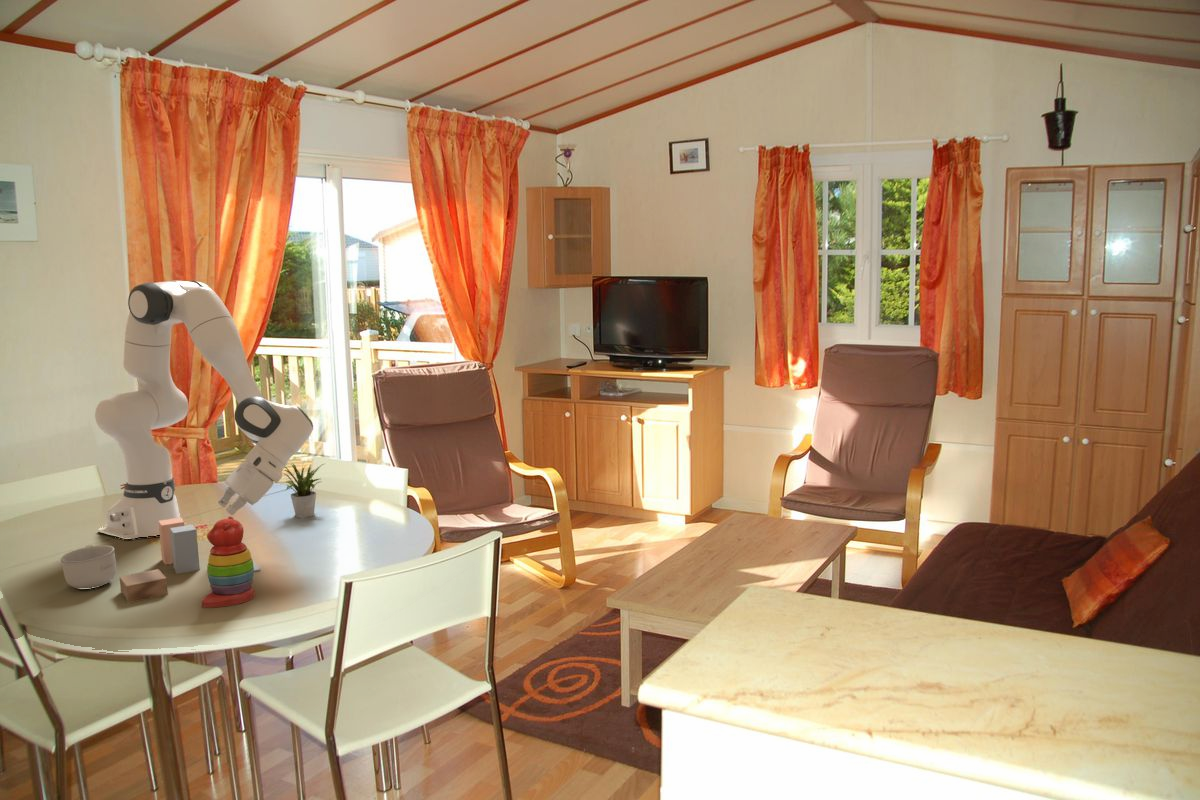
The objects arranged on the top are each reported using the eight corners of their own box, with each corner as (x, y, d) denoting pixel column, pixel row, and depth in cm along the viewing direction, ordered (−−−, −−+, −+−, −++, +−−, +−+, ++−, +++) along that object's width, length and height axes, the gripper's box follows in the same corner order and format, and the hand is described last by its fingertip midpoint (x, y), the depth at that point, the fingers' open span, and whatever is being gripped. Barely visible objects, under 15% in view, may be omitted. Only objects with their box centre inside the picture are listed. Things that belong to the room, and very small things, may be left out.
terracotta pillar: (165, 565, 226) (161, 525, 225) (161, 559, 230) (158, 520, 229) (187, 561, 229) (183, 521, 227) (183, 556, 233) (180, 517, 231)
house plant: (265, 521, 263) (261, 465, 261) (287, 508, 277) (283, 454, 274) (313, 522, 261) (309, 465, 259) (333, 509, 275) (329, 455, 273)
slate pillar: (177, 573, 219) (173, 533, 218) (173, 568, 224) (170, 528, 222) (199, 569, 222) (196, 529, 221) (195, 564, 226) (192, 524, 225)
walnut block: (128, 603, 201) (126, 586, 201) (121, 593, 208) (119, 576, 207) (167, 595, 206) (166, 578, 205) (159, 585, 212) (158, 569, 212)
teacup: (112, 590, 209) (108, 556, 208) (58, 596, 206) (54, 561, 205) (124, 571, 222) (121, 539, 221) (74, 576, 219) (70, 543, 218)
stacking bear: (215, 590, 208) (209, 513, 205) (261, 588, 208) (256, 511, 206) (198, 608, 197) (191, 527, 194) (247, 606, 198) (241, 525, 195)
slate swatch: (234, 575, 217) (234, 574, 217) (228, 568, 222) (228, 567, 222) (260, 570, 220) (260, 569, 220) (254, 564, 225) (254, 562, 225)
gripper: (243, 450, 237) (205, 493, 233) (263, 463, 220) (223, 510, 216) (262, 464, 240) (225, 507, 236) (283, 479, 223) (244, 525, 219)
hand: (224, 509), depth 226 cm, fingers open, 8 cm apart
